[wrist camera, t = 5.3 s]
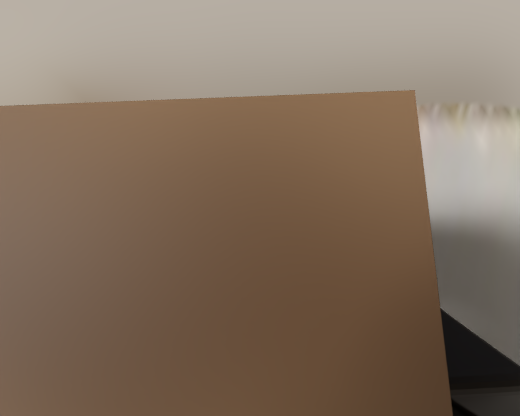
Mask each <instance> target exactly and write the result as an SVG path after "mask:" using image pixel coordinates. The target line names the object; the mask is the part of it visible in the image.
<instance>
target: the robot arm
mask: <svg viewBox="0 0 520 416" xmlns="http://www.w3.org/2000/svg"><path fill="white" fill-rule="evenodd" d="M440 311H441V319H442V328H443V336H444V345H445V353H446V362H447V370H448V379H449V387H450V396H451V404H452V413H453V416H520V366H519V365H517V364H516V363H515V362H513V361H512V360H510V359H509V358H508V357H506V356H505V355H503V354H502V353H501V352H499V351H498V350H497V349H495V348H494V347H492V346H491V345H490V344H488V343H487V342H485V341H484V340H483V339H481V338H480V337H478V336H477V335H476V334H474V333H473V332H472V331H470V330H469V329H467V328H466V327H465V326H463V325H462V324H461V323H459V322H458V321H457V320H455V319H454V318H453V317H451V316H450V315H449V314H447V313H446V312H445V311H443V310H442V309H441V308H440Z"/></svg>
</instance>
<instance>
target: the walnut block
mask: <svg viewBox="0 0 520 416" xmlns="http://www.w3.org/2000/svg"><path fill="white" fill-rule="evenodd" d="M0 416H453V413H452V404H451V396H450V387H449V379H448V370H447V362H446V353H445V345H444V336H443V328H442V319H441V311H440V302H439V294H438V285H437V277H436V268H435V260H434V251H433V243H432V234H431V226H430V217H429V209H428V200H427V192H426V184H425V175H424V167H423V158H422V150H421V141H420V133H419V124H418V116H417V107H416V99H415V90H409V91H384V92H383V91H382V92H357V93H330V94H306V95H278V96H254V97H252V96H251V97H226V98H200V99H173V100H147V101H121V102H95V103H69V104H42V105H16V106H0Z"/></svg>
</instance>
